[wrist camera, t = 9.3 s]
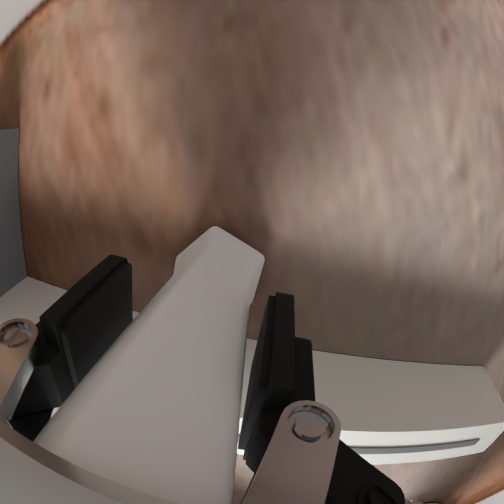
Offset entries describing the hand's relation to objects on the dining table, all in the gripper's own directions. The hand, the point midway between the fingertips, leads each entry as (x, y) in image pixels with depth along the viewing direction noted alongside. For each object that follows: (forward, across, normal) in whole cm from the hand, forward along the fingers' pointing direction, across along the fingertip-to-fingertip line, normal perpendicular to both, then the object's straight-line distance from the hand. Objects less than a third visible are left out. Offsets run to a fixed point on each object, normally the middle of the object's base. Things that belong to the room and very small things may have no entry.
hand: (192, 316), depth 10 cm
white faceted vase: (+4, 0, 0) cm, 4 cm away
